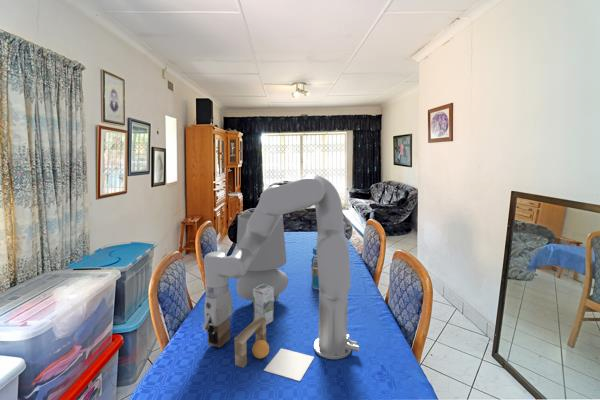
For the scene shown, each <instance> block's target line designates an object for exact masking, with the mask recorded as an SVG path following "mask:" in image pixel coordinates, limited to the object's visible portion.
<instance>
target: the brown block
mask: <svg viewBox="0 0 600 400" xmlns="http://www.w3.org/2000/svg"><path fill="white" fill-rule="evenodd" d="M230 321H231V316H230V317H229V318H228V319H226V320H225V321H224V322H223V323H221V324H220V325H219V326H217V328H216V333H217V341H218V343H217V344H213V343H209V334H208V333H207V335H206V336H207V345H209V346H212V347H217V348H219V349H221V347H222V346H224V345H225V344H226V343H227V342H228V341H229V340H230V339H231V322H230ZM211 329H213V326H212V325H211Z"/></svg>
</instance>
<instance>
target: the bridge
mask: <svg viewBox="0 0 600 400" xmlns="http://www.w3.org/2000/svg"><path fill="white" fill-rule="evenodd" d="M254 334H255V342H256V341H258V340H264V341H266V342H267V325H266V318H263V317H259V316H258V317H257V318H256V319H255V320H254V319H253V321H252V322H251V323H250V324H248V325H247V326H246V327H245V328H244V329H243V330H242V331H240V332H239V333H238V335H236V336H235V337H234V339H233V340H234V341H233V342H234V364H235V365H234V366H237V367H240V368H245V367H246V366H247V364H248V359H247V358H248V356H247V355H248V353H247V352H248V351H247V348H248V347H247V341H248V340H249V338H251V337H252V336H253V335H254Z"/></svg>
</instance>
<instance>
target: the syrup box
mask: <svg viewBox="0 0 600 400" xmlns="http://www.w3.org/2000/svg"><path fill="white" fill-rule="evenodd" d="M274 302H275V300H274V288H273V287H271V286H269V285H267V284H262V285H259V286H257V287H255V288H253V302H252V303H253V304H252V305H253V306H252V307H253V314H252V315H253V321H254V320H255V319H256V318H257V317H258V316H259V317H263V318H266V326H268V325H269V324H271V323H273V322H274V318H275V317H274V313H275V312H274V309H275V307H274V306H275V305H274Z"/></svg>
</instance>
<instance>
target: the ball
mask: <svg viewBox="0 0 600 400" xmlns="http://www.w3.org/2000/svg"><path fill="white" fill-rule="evenodd" d="M251 351H252V354H253V356H254V357H255V358H257V359H263V358H265V357H267V356H268V354H269V352H270V345H269V344H268V342H267V340H266V341H264V340H258V341H256V340H255V342H254V343H253V346H252V349H251Z"/></svg>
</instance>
